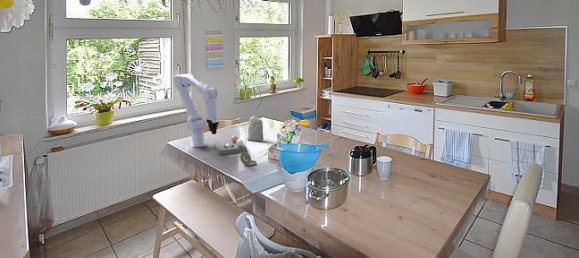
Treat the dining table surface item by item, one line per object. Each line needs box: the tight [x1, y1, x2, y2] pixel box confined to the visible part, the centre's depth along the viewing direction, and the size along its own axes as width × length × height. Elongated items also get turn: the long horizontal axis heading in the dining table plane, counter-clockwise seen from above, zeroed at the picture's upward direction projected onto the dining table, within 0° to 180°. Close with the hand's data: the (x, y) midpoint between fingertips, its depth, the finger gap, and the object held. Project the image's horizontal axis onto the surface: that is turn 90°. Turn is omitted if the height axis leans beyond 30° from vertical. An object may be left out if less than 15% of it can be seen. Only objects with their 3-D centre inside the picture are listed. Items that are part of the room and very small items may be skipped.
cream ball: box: [236, 138, 244, 146], centre depth 215 cm, size 4×4×4 cm
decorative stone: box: [246, 115, 264, 142], centre depth 235 cm, size 11×6×15 cm, turn 58°
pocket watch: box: [239, 148, 257, 167], centre depth 191 cm, size 8×8×10 cm
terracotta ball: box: [230, 135, 239, 142], centre depth 223 cm, size 4×4×4 cm
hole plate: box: [212, 140, 248, 156], centre depth 219 cm, size 17×16×2 cm
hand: (212, 132), depth 215 cm, fingers open, 7 cm apart
